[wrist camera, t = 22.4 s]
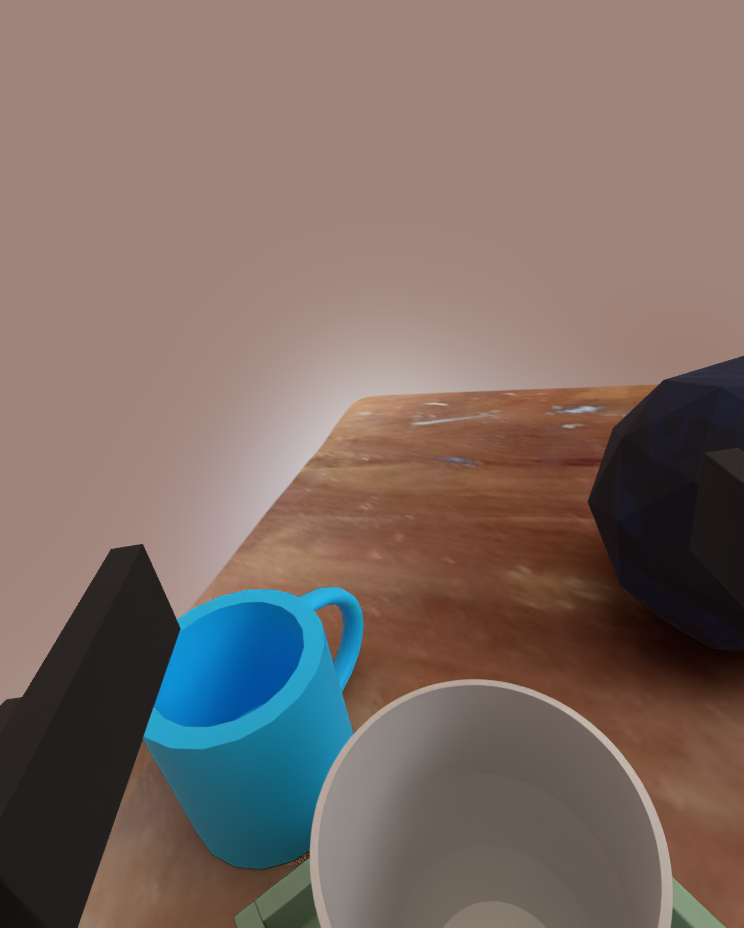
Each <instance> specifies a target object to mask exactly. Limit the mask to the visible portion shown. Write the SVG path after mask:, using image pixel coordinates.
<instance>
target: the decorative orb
mask: <svg viewBox="0 0 744 928" xmlns="http://www.w3.org/2000/svg"><path fill="white" fill-rule="evenodd" d="M732 448H739V449H741V450H742V451H743V452H744V356H742V357H739V358H735V359H732V360H729V361H725V362H722V363H719V364H715V365H712V366H709V367H706V368H702V369H699V370H696V371H692V372H689V373H686V374H682V375H679V376H676V377H672V378H669V379H666V380H663V381H662V382H661V383H660V384H659V385H658V386H657V387H656V388H655V389H654V390H653V391H652V392H651V393H650V394H649V395H648V396H646V397H645V398H644V399H643V400H642V401H641V402H640V403H639V404H638V405H637V406H636V407H635V408H634V409H633V410H632V411H631V412H630V413H629V414H628V415H627V416H625V417H624V418H623V419H622V420H621V421H620V422H619V423H618V424H617V425H616V426H615V427H614V428H613V430H612V433H611V436H610V439H609V441H608V444H607V447H606V450H605V453H604V456H603V459H602V462H601V465H600V468H599V471H598V474H597V476H596V479H595V482H594V485H593V488H592V491H591V494H590V497H589V500H588V504H589V506H590V509H591V511H592V514H593V516H594V519H595V522H596V524H597V527H598V529H599V532H600V534H601V537H602V539H603V542H604V545H605V547H606V550H607V552H608V555H609V557H610V560H611V562H612V565H613V568H614V570H615V573H616V575H617V578H618V580H619V583H620V585H621V586H622V587H623V588H624V589H626V590H627V591H628V592H629V593H630V594H631V595H632V596H634V597H635V598H636V599H637V600H638V601H639V602H640V603H641V604H643V605H644V606H645V607H646V608H647V609H648V610H649V611H650V612H652V613H653V614H654V615H655V616H656V617H657V618H659V619H660V620H662V621H664V622H666V623H667V624H669V625H671V626H672V627H674V628H676V629H678V630H679V631H681V632H683V633H685V634H686V635H688V636H690V637H691V638H693V639H695V640H697V641H698V642H700V643H702V644H704V645H705V646H707V647H709V648H710V649H720V650H731V651H742V652H744V608H743V607H742V605H741V604H740V603H739V602H738V601H737V600H736V599H735V598H734V597H733V596H732V595H731V593H730V592H729V591H728V590H727V589H726V588H725V587H724V586H723V585H722V584H721V583H720V582H719V580H718V579H717V578H716V577H715V576H714V575H713V574H712V573H711V572H710V571H709V570H708V568H707V567H706V566H705V565H704V564H703V563H702V562H701V561H700V560H699V559H698V558H697V557H696V555H695V554H694V553H693V552H692V551H691V550H690V549H689V548H690V541H691V535H692V528H693V522H694V515H695V509H696V502H697V496H698V489H699V483H700V476H701V470H702V463H703V457H704V453H708V452H714V451H720V450H726V449H732Z"/></svg>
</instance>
